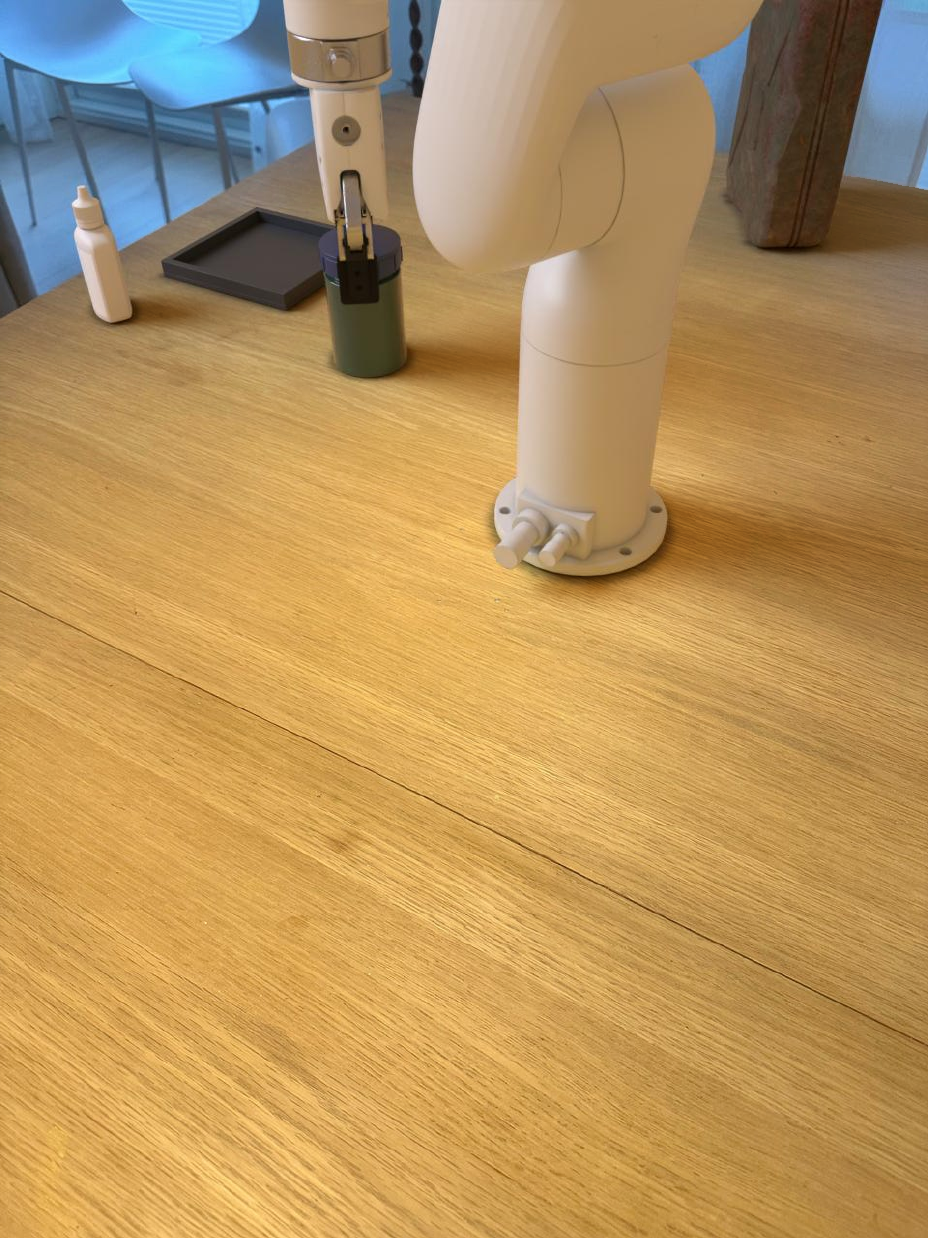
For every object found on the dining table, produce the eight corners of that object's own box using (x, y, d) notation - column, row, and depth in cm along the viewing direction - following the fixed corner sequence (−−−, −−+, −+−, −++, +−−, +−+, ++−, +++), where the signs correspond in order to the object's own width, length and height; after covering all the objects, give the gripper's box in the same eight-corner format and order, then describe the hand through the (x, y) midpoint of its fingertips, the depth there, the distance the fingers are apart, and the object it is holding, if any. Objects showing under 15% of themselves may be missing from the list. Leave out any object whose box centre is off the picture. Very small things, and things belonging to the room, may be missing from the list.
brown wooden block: (831, 254, 110) (896, -19, 93) (751, 255, 110) (801, -18, 93) (788, 184, 124) (838, -65, 107) (717, 186, 124) (755, -63, 107)
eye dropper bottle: (83, 325, 101) (48, 199, 92) (97, 297, 105) (65, 175, 96) (129, 324, 101) (98, 198, 92) (141, 297, 105) (112, 174, 96)
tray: (286, 310, 102) (283, 294, 101) (164, 276, 108) (160, 260, 107) (374, 250, 112) (373, 234, 111) (258, 221, 118) (256, 206, 117)
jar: (396, 381, 93) (388, 272, 85) (324, 373, 94) (310, 265, 87) (414, 343, 97) (408, 237, 90) (346, 336, 98) (334, 231, 91)
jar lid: (328, 286, 86) (325, 264, 85) (315, 250, 91) (312, 229, 89) (410, 275, 87) (408, 253, 86) (392, 240, 92) (391, 218, 91)
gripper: (398, 88, 72) (409, 328, 84) (384, 19, 84) (396, 236, 97) (287, 93, 71) (315, 333, 84) (290, 23, 84) (314, 241, 96)
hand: (358, 280), depth 90 cm, fingers closed on jar lid, 6 cm apart
